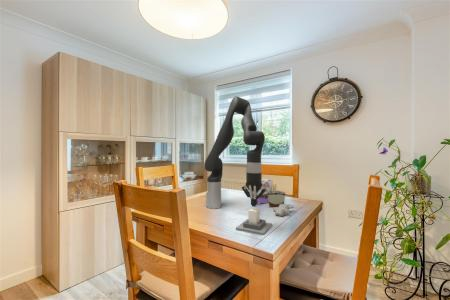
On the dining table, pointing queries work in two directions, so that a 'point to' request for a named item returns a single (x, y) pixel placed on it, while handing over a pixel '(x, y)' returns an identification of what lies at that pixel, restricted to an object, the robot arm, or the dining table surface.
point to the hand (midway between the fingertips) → (253, 206)
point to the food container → (276, 198)
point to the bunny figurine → (282, 209)
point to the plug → (254, 216)
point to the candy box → (268, 185)
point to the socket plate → (254, 227)
